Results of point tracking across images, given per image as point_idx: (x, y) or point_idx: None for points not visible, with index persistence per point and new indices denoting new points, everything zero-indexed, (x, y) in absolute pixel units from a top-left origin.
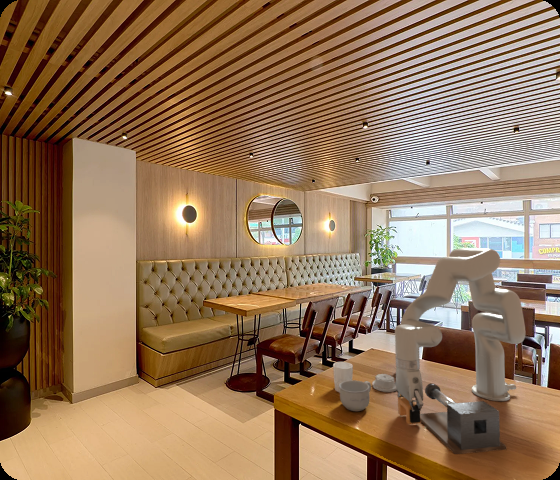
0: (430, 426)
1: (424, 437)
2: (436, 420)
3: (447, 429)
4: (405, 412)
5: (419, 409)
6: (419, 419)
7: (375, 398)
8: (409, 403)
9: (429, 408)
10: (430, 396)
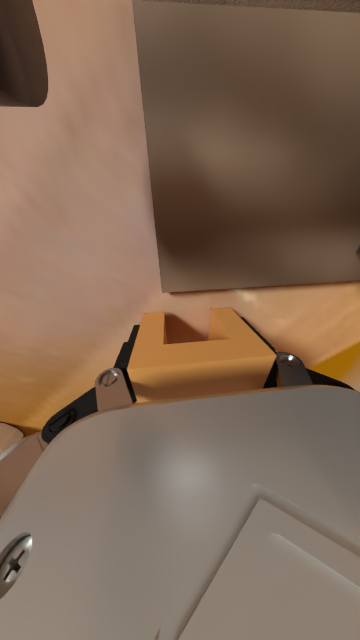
0: (266, 281)
1: (283, 320)
2: (235, 216)
3: (320, 208)
4: (166, 341)
5: (313, 375)
6: (246, 323)
7: (23, 375)
8: (222, 390)
9: (48, 138)
10: (22, 50)
